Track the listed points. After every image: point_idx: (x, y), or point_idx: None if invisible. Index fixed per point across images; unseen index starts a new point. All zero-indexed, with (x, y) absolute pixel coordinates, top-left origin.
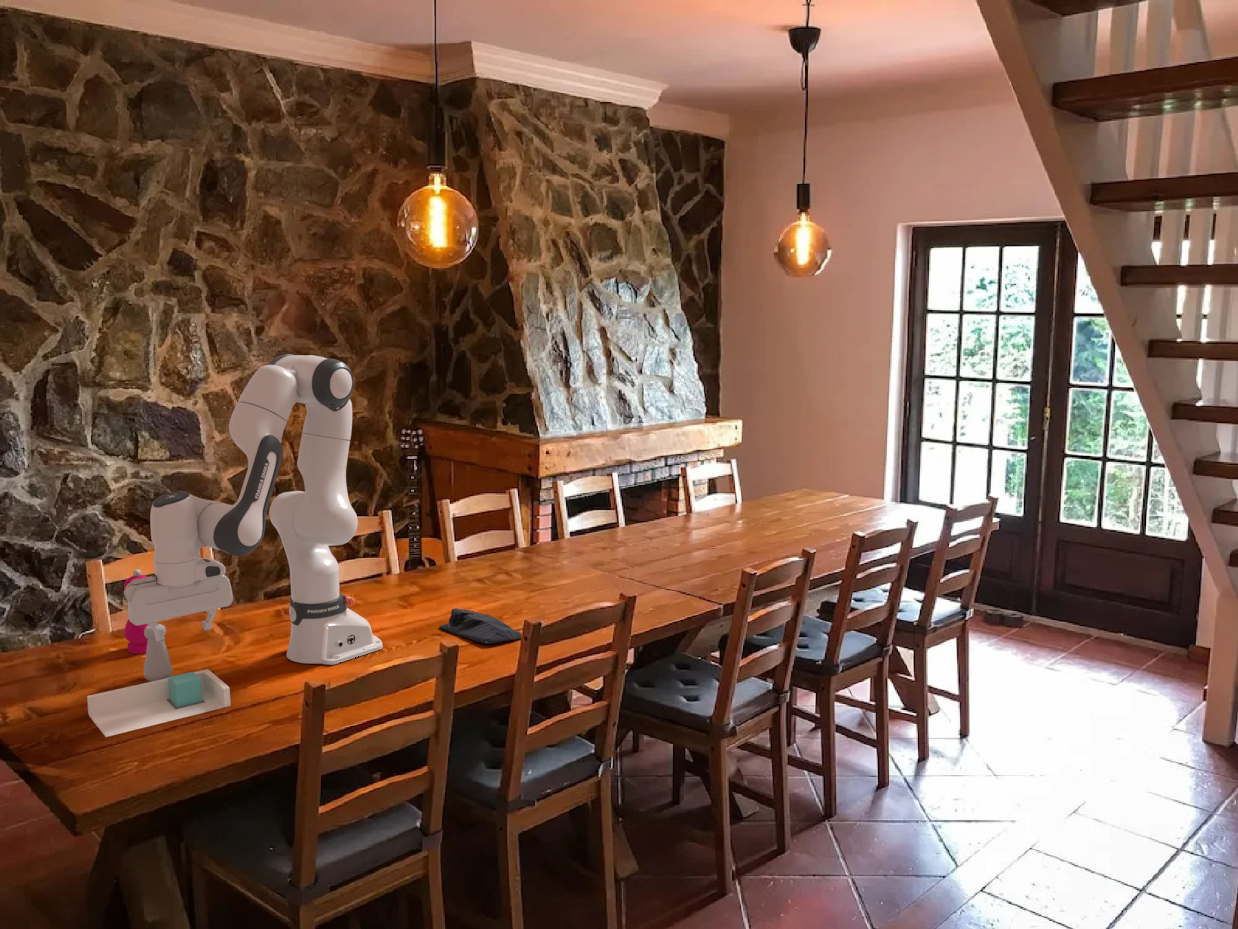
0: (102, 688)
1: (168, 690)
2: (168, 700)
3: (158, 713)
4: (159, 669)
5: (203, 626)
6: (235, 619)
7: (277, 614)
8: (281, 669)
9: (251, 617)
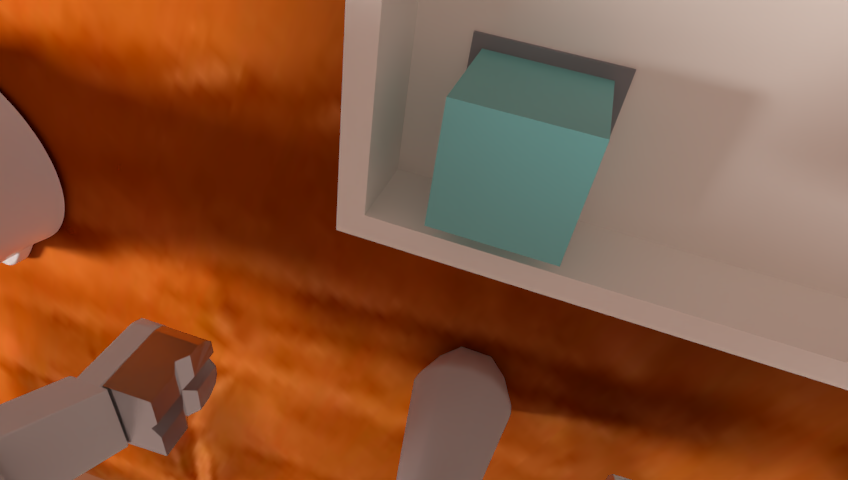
0: (624, 461)
1: None
2: None
3: (732, 93)
4: (469, 396)
5: (187, 393)
6: (155, 465)
7: None
8: (94, 129)
9: None
